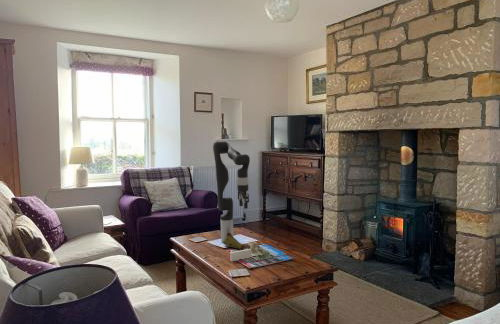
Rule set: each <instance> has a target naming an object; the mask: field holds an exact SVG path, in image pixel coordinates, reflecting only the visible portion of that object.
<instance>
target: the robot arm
mask: <svg viewBox="0 0 500 324" xmlns="http://www.w3.org/2000/svg"><path fill="white" fill-rule="evenodd" d="M212 149H213V151H212V152H213V157H214V163H215V175H216V177H215V179H216V188H217V208H218V211H225V212H224V213H222V214H220V241H221V243H222V244H224V243H223V241H224V240H225V238H226V237H227V233H231V235H232V236H233V237H234V201H233V198H232V197H223V196H224V192H225V189H226V186H227V185H228V183H229V181H230V180H229V179H230V177H229V176H230V175H229V169H228V168H227V166H226V165H225V164H224V162H223V160H222V158H221V155H225V154H227V158H229V159H230V160H231V161H233V163H234V164H235V165H236V166H241V168H238V169H237V170H236V174H237V175H236V176H237V180H236V184H237V185H236V186H237V187H236V188H237V200H238V201H239V204H238V205H239V207H244V209H245V210H246V209H248V205H249V204H248V203H250V196H249V195H250V194H249V193H247V192H248V191H249V178H248V176H249V174H248V172H249V171H248V170H249V166H250V161H251V160H250V159H251V158H250V156H249V155H248V154H246V153H245V154H242V153H240V152H239V151H237V149H235V148H233V147H232V146H231V145H230V144H229V143H228V142H227V141H214V142H213V146H212ZM243 205H244V206H243Z"/></svg>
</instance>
